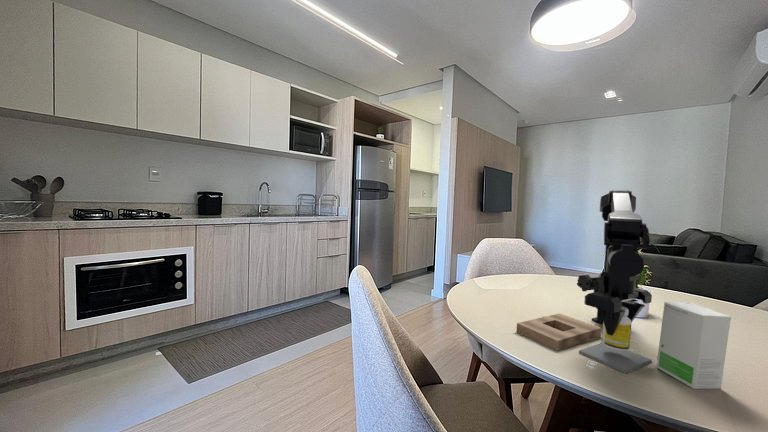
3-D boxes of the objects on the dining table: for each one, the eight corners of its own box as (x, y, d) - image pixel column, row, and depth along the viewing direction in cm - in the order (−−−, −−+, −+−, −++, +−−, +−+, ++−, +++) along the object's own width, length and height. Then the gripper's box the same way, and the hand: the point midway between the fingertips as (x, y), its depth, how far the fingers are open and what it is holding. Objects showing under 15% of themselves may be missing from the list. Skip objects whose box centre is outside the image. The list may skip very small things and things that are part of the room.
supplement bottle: (634, 353, 70) (637, 312, 70) (608, 350, 71) (611, 310, 71) (621, 343, 76) (624, 304, 75) (597, 340, 77) (599, 302, 76)
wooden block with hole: (559, 321, 96) (559, 313, 96) (600, 336, 85) (601, 328, 85) (516, 331, 87) (517, 323, 86) (557, 350, 76) (557, 340, 76)
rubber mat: (604, 343, 81) (605, 341, 81) (651, 361, 72) (651, 359, 72) (578, 352, 75) (579, 350, 75) (626, 373, 66) (626, 370, 66)
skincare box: (655, 367, 69) (660, 300, 69) (681, 367, 70) (687, 301, 69) (696, 390, 61) (702, 314, 60) (725, 390, 62) (732, 314, 61)
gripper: (604, 260, 84) (600, 315, 85) (564, 265, 75) (560, 326, 76) (654, 269, 74) (650, 331, 75) (615, 275, 66) (610, 345, 66)
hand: (616, 332), depth 73 cm, fingers closed on supplement bottle, 5 cm apart
